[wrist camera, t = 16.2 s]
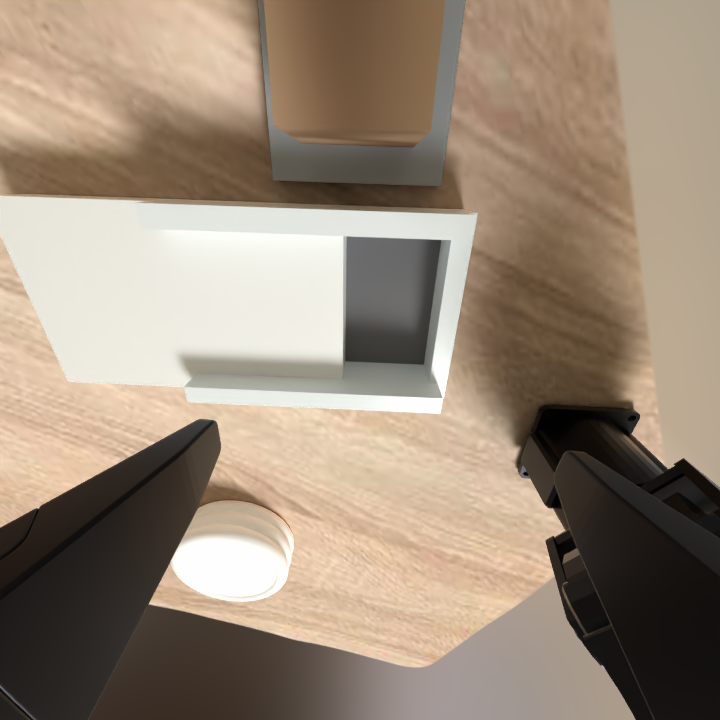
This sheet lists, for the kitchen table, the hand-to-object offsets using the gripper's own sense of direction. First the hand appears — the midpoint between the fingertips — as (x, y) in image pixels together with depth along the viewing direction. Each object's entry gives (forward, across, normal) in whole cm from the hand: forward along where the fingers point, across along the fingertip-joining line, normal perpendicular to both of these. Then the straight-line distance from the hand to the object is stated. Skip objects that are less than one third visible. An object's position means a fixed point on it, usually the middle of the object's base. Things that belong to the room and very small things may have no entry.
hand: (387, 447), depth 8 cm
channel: (+12, +7, 0) cm, 14 cm away
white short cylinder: (+13, +11, +23) cm, 28 cm away
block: (+11, +2, -10) cm, 15 cm away
